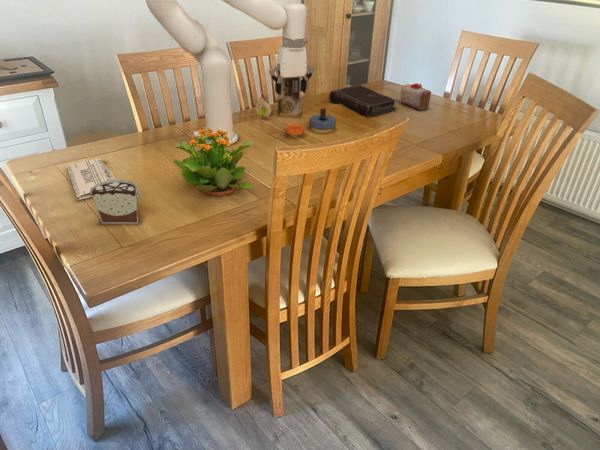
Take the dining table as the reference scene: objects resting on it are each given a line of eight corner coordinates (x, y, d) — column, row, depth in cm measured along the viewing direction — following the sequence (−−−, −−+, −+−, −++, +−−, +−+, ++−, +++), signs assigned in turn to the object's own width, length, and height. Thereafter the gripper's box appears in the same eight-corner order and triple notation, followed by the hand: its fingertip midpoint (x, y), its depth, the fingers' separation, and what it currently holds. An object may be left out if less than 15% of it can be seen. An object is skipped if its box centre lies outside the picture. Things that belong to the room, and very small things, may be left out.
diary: (366, 118, 196) (367, 106, 193) (328, 101, 212) (329, 90, 210) (397, 110, 205) (399, 98, 202) (359, 95, 222) (360, 84, 219)
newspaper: (123, 190, 137) (120, 183, 136) (79, 204, 133) (76, 196, 131) (107, 160, 153) (105, 153, 152) (68, 171, 149) (65, 164, 147)
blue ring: (317, 130, 178) (317, 124, 176) (305, 122, 185) (306, 116, 183) (339, 127, 181) (339, 121, 180) (327, 119, 188) (327, 113, 187)
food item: (396, 102, 214) (399, 80, 209) (409, 100, 218) (412, 78, 212) (418, 111, 204) (422, 88, 199) (431, 108, 208) (435, 86, 203)
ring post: (316, 134, 178) (317, 114, 174) (305, 126, 186) (305, 106, 181) (339, 131, 182) (341, 111, 178) (327, 122, 189) (328, 103, 185)
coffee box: (300, 112, 199) (301, 73, 191) (299, 117, 194) (300, 77, 185) (279, 110, 200) (279, 72, 191) (277, 116, 195) (277, 76, 186)
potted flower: (277, 192, 139) (277, 136, 130) (210, 220, 125) (205, 160, 115) (226, 164, 154) (222, 113, 144) (161, 187, 140) (153, 131, 130)
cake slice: (149, 211, 128) (144, 178, 122) (144, 223, 123) (137, 189, 117) (103, 211, 127) (96, 178, 122) (96, 223, 122) (87, 189, 117)
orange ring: (290, 139, 174) (290, 131, 172) (283, 133, 179) (283, 125, 177) (306, 136, 176) (306, 129, 175) (298, 131, 181) (299, 123, 179)
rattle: (280, 117, 193) (280, 89, 187) (265, 121, 189) (264, 93, 182) (269, 112, 198) (269, 85, 192) (253, 116, 193) (253, 88, 187)
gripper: (310, 40, 166) (307, 88, 175) (265, 41, 160) (264, 91, 169) (320, 44, 161) (316, 94, 170) (274, 46, 154) (272, 97, 163)
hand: (290, 92), depth 169 cm, fingers open, 9 cm apart
